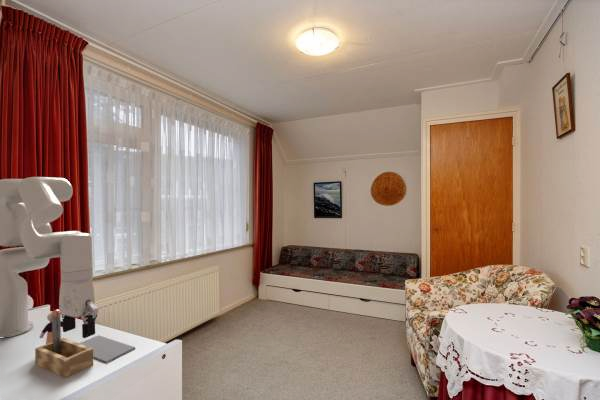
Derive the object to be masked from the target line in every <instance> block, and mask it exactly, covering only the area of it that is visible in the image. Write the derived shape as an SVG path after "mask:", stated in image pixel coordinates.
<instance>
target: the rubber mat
mask: <svg viewBox="0 0 600 400" xmlns="http://www.w3.org/2000/svg"><path fill="white" fill-rule="evenodd" d="M78 343H79V344H82V345H85V346H88V347H91V348H93V359H95V360H97V361H100V362H103V363H104V364H108V363H110V362H112V361H113V360H115V359H118V358H119V357H122V356H124V355H126V354H127V353H130V352H131V351H132V352H133V351H134V350H135V349H136V347H135V346H134V345H133V346H132V345H129V344H127V343H124V342H120V341H117V340H114V339H111V338H108V337H104V336H101V335H99V334H98V335H95V336H93V337H90V338H89V339H86V340H83V341H81V342H78Z"/></svg>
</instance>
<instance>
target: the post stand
mask: <svg viewBox="0 0 600 400" xmlns="http://www.w3.org/2000/svg"><path fill="white" fill-rule="evenodd" d="M51 312H52V313H51ZM51 312H50V313H51V317H52V337H53V352H54V353H57V354H59V355H61V338H62V337H61V335H62V334H61V333H62V332H61V330H62V329H61V328H62V327H61V324H60V321H61V315H62V314H61V313H60V312H59V309H54V310H52V311H51Z"/></svg>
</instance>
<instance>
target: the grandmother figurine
mask: <svg viewBox="0 0 600 400" xmlns="http://www.w3.org/2000/svg"><path fill="white" fill-rule="evenodd" d="M51 313H52V311H51V312H49V313H48V315H47V316H46V318H47V320H48V323H47V324H45V327H44V328H43V329H42V331H41V333H40V335H39V338H40V339H43V338H44V336H45V335H46V334H47V335H46V340H45V345H46V344H48V343H51V342H53V337H52V317H51ZM60 324H61V328H63V321H62V320H60Z"/></svg>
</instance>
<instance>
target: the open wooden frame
mask: <svg viewBox="0 0 600 400" xmlns="http://www.w3.org/2000/svg"><path fill="white" fill-rule="evenodd" d="M79 343H80V342H77V341H74V340H70V339H68V338H65V337H61V355H59V354H57V353H54V352H53V342H51V343H48V344H46V343H45V344H44V345H40V346H39V347H35V348H34V351H35V354H34V356H35V365H36V366H38V367H40V368H42V369H44V370H47V371H48V372H51V373H53V374H55V375H57V376H60V377H62V378H65V379H67V378H69V377H70V376H73V375H75V374H77V373H79V372H81V371H83V370H85V369H87V368H89V367H91V366H93V365H94V358H93V348H91V347H88V346H85V345H82V344H79Z"/></svg>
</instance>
